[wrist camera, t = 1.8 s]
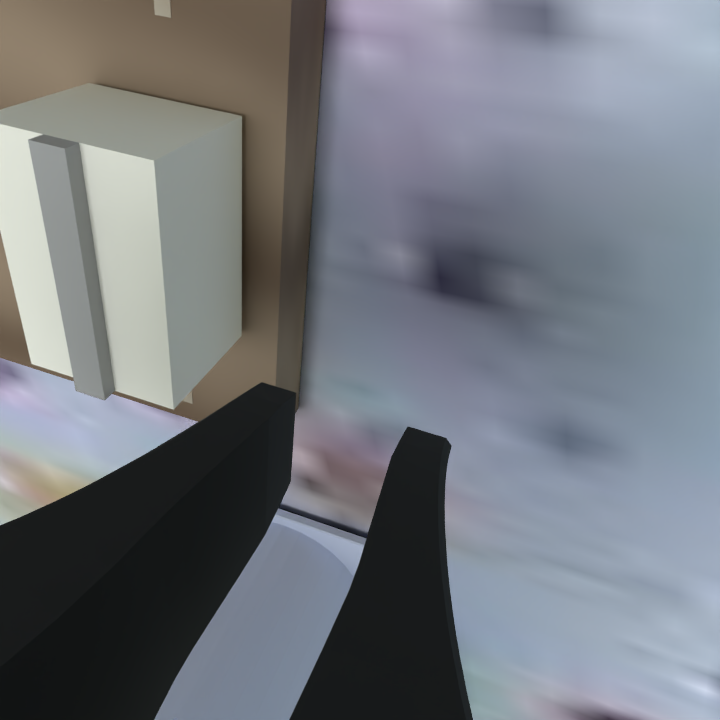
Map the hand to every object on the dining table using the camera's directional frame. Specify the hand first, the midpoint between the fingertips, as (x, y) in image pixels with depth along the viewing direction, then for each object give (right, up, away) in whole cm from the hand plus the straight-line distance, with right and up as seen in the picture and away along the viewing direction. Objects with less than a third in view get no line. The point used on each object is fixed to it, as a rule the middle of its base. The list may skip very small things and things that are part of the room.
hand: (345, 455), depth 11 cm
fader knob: (-5, +5, +6) cm, 9 cm away
